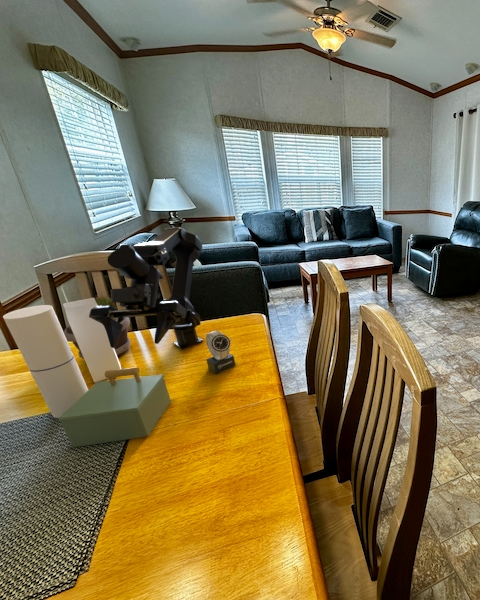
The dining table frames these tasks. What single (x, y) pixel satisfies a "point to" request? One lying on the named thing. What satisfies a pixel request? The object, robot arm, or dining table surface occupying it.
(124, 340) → the flowerpot
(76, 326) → the milk
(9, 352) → the dining table surface
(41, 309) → the cylindrical container
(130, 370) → the lid
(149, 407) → the green hinged box
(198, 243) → the robot arm
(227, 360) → the watch
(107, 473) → the dining table surface
